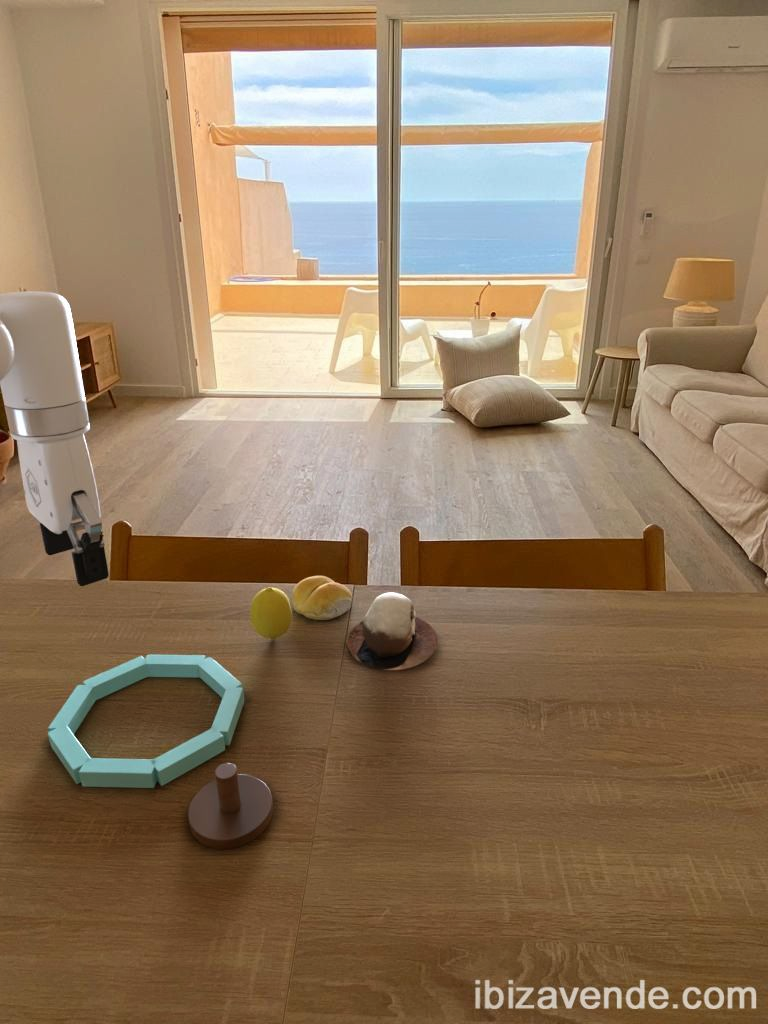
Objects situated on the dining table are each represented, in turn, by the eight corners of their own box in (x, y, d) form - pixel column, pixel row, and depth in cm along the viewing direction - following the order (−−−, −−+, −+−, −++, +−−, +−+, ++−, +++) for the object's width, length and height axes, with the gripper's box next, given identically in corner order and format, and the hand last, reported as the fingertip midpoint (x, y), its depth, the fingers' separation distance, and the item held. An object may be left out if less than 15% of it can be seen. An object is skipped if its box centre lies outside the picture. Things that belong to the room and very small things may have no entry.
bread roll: (322, 585, 108) (321, 562, 106) (361, 606, 102) (360, 582, 100) (279, 605, 103) (277, 581, 101) (317, 629, 97) (316, 604, 95)
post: (216, 865, 62) (209, 819, 60) (174, 812, 68) (166, 769, 66) (289, 815, 67) (285, 771, 65) (244, 770, 73) (239, 729, 70)
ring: (101, 820, 67) (97, 805, 66) (31, 718, 81) (27, 704, 80) (273, 722, 79) (272, 709, 79) (188, 648, 93) (186, 636, 92)
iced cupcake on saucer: (359, 604, 100) (405, 564, 95) (409, 655, 101) (457, 618, 96) (325, 648, 90) (375, 606, 85) (381, 704, 90) (434, 666, 85)
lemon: (245, 646, 93) (239, 594, 90) (265, 624, 98) (260, 574, 95) (282, 654, 91) (277, 601, 88) (300, 631, 96) (297, 581, 93)
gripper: (-16, 408, 75) (16, 550, 82) (39, 444, 63) (71, 607, 70) (56, 397, 80) (81, 532, 86) (119, 429, 68) (142, 582, 75)
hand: (76, 565), depth 78 cm, fingers open, 9 cm apart
